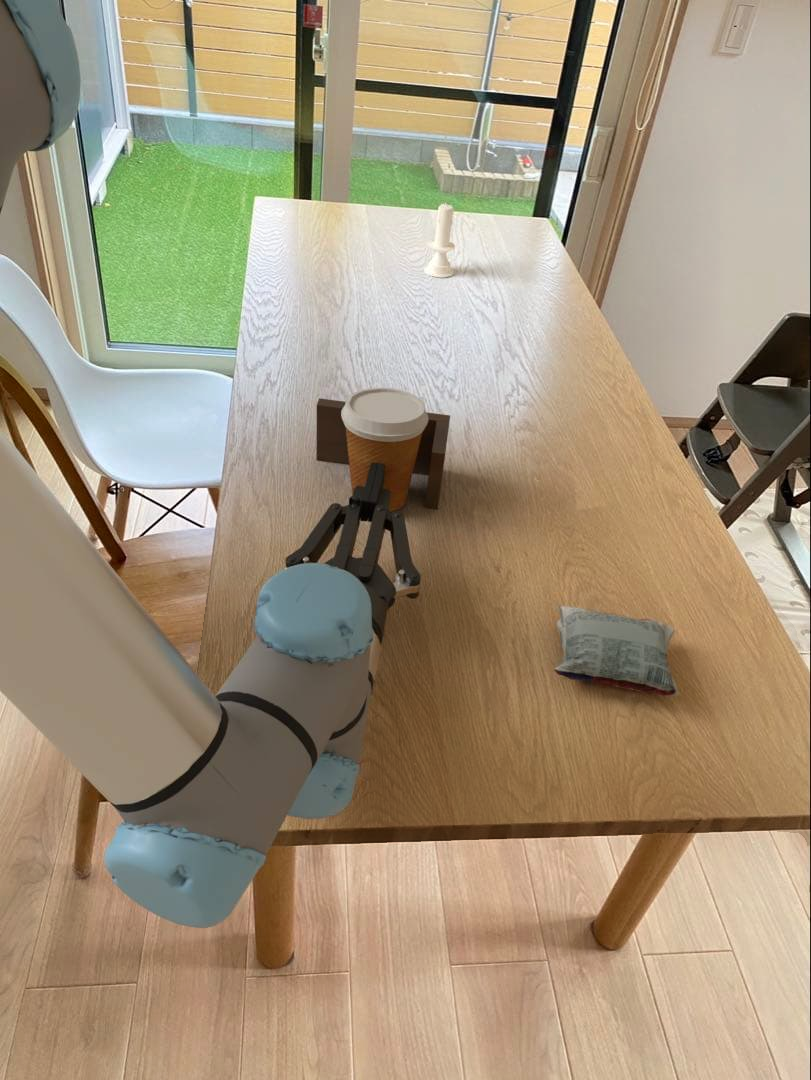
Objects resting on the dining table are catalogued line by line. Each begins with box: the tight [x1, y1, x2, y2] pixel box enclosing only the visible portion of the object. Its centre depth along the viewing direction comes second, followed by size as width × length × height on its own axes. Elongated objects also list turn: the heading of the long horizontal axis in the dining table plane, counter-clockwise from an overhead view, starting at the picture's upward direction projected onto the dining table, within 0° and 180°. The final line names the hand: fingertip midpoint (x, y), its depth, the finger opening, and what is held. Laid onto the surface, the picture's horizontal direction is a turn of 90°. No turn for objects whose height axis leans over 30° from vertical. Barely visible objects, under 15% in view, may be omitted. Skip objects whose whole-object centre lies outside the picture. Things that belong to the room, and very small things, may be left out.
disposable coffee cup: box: [341, 387, 429, 512], centre depth 88 cm, size 10×10×12 cm
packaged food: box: [553, 601, 681, 697], centre depth 74 cm, size 9×12×5 cm
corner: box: [315, 397, 451, 510], centre depth 92 cm, size 8×16×8 cm, turn 83°
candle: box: [423, 201, 456, 279], centre depth 136 cm, size 5×5×12 cm
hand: (377, 473), depth 85 cm, fingers closed
